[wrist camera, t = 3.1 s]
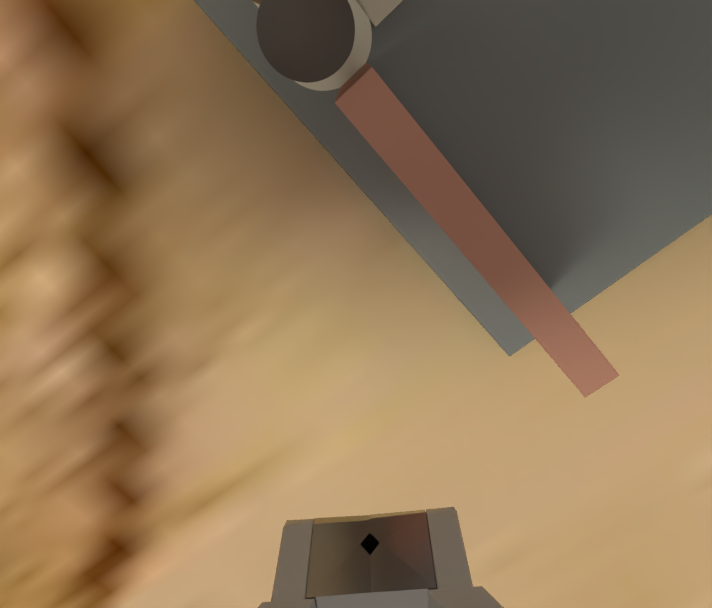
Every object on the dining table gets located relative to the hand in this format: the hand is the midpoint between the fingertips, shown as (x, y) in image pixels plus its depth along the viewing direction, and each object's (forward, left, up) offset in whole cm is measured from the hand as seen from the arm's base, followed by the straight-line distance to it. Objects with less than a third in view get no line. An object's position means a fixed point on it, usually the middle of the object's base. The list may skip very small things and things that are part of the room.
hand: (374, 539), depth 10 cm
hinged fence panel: (-1, +5, -10) cm, 11 cm away
